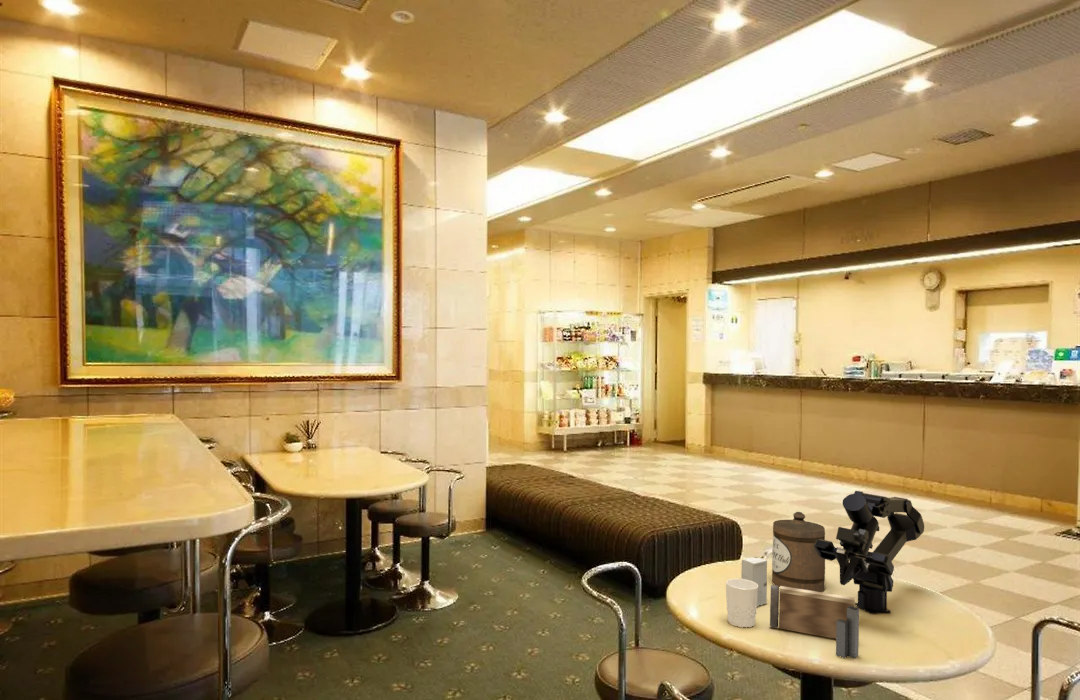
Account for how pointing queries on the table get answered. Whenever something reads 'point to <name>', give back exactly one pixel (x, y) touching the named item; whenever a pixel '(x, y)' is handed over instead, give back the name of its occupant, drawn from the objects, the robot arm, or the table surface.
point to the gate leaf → (807, 610)
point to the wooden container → (797, 554)
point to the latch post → (848, 634)
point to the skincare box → (756, 576)
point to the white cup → (741, 602)
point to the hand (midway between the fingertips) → (841, 584)
